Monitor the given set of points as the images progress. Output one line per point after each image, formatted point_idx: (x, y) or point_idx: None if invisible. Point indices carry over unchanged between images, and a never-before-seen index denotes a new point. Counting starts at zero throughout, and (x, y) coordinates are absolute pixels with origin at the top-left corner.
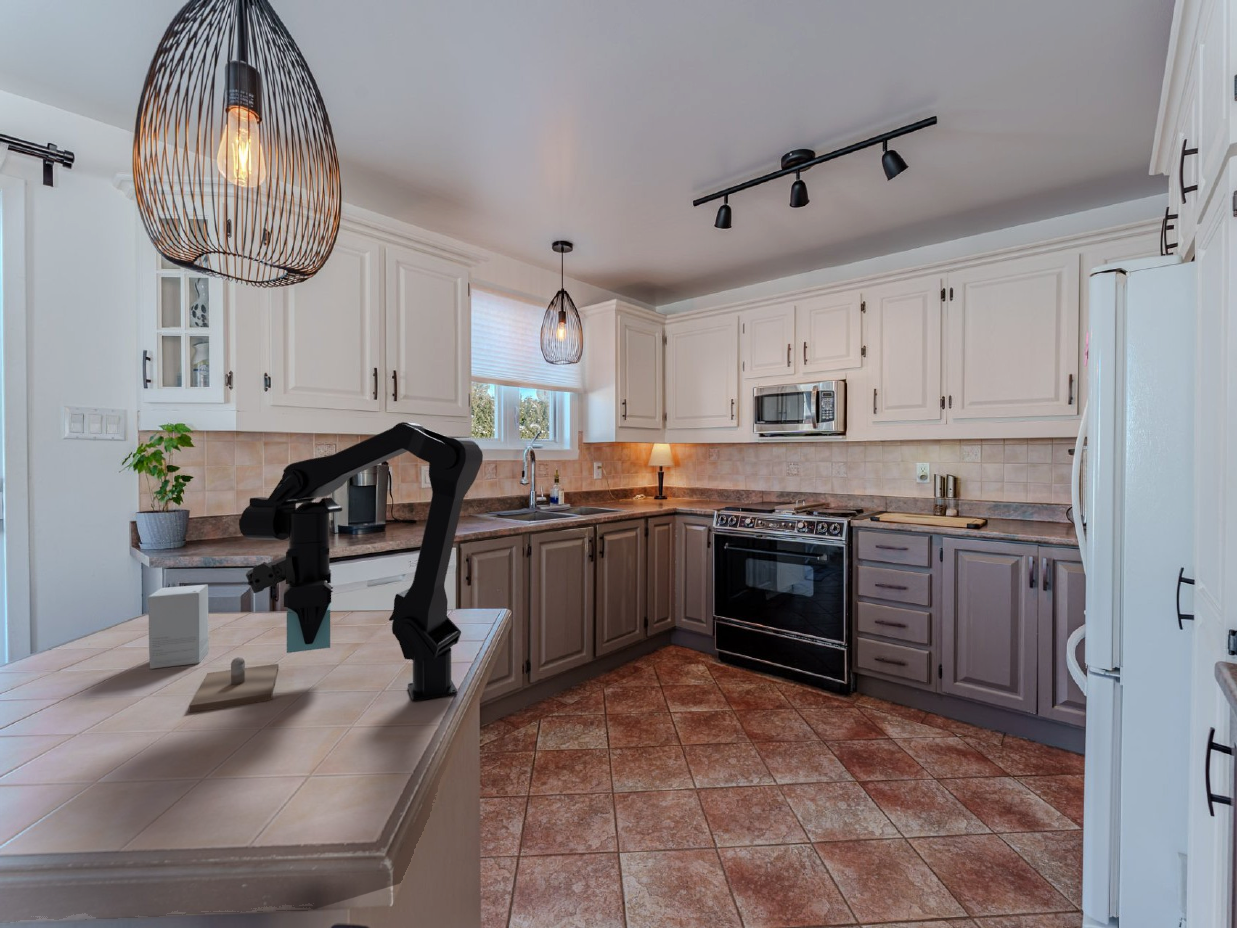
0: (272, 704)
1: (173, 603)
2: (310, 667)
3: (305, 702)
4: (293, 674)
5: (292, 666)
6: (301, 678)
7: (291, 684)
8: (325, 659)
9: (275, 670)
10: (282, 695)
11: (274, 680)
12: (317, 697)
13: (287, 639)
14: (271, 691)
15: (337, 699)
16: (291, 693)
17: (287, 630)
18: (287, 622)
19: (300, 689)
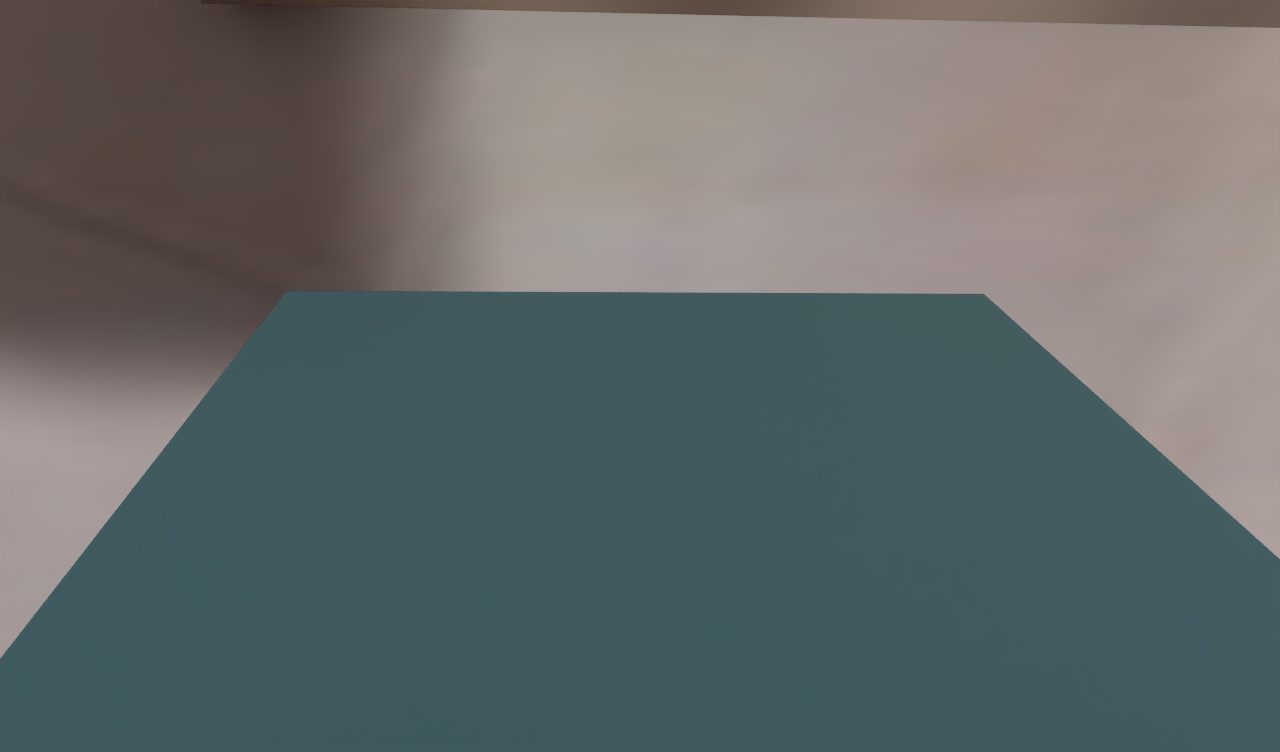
0: (84, 18)
1: None
2: (1104, 344)
3: (49, 326)
4: (976, 189)
5: (1267, 169)
6: (794, 271)
7: (651, 182)
8: (1268, 470)
9: (1048, 6)
10: (335, 107)
11: (682, 13)
12: (156, 421)
13: (201, 409)
14: (263, 2)
15: (49, 570)
16: (362, 192)
17: (119, 521)
18: (5, 675)
19: (450, 272)
